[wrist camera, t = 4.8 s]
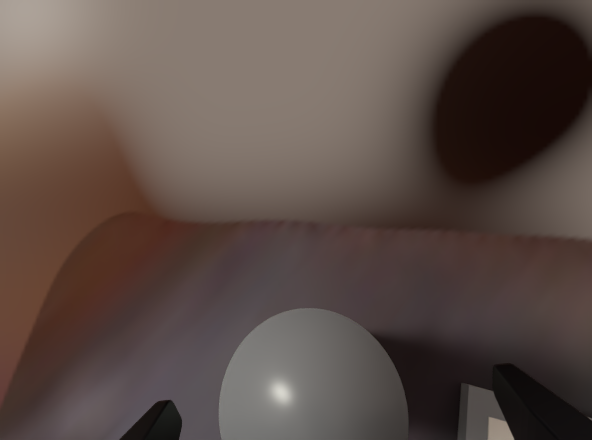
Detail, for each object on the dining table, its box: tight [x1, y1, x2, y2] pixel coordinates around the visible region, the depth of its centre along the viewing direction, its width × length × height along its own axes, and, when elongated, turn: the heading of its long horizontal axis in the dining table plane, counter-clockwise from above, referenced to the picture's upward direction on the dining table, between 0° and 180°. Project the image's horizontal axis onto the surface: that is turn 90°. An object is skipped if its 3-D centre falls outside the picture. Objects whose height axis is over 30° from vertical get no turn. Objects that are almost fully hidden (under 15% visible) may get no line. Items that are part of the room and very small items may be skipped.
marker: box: [219, 308, 409, 440], centre depth 12 cm, size 4×4×10 cm
